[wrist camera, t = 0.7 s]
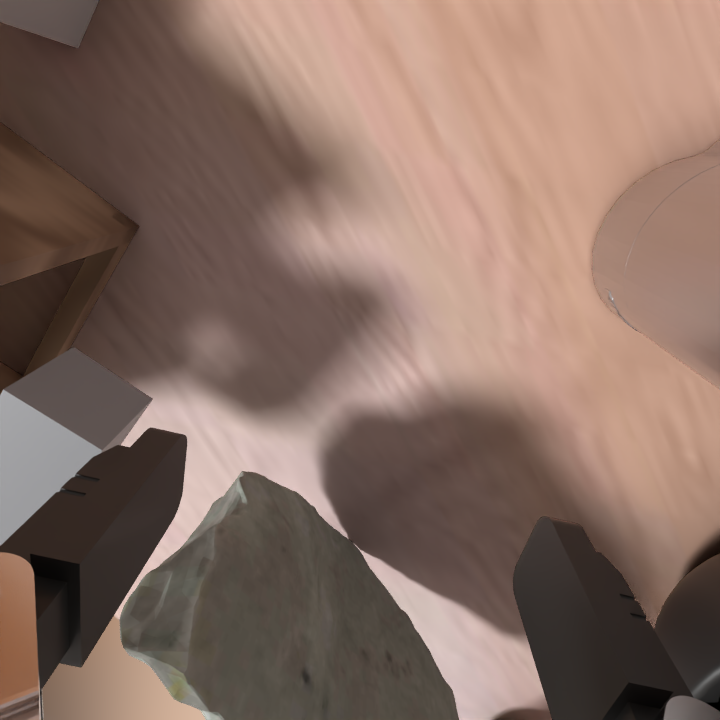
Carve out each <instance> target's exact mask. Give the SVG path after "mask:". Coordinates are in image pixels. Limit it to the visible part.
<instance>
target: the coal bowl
mask: <svg viewBox="0 0 720 720" xmlns="http://www.w3.org/2000/svg"><path fill="white" fill-rule="evenodd" d="M654 631H655V632H656V634H657V636H658V638H659V639H660V641H661V643H662V644H663V646H664V648H665V649H666V651H667V653H668V654H669V656H670V658H671V660H672V661H673V663H674V665H675V666H676V668H677V670H678V671H679V673H680V675H681V677H682V678H683V680H684V682H685V683H686V685H687V687H688V688H689V690H690V692H691V694H692V695H693V697H694V698H696V699H698V700H701V701H703V702H705V703H707V704H708V705H710V706H712V707H713V708H715V709H717V710H718V711H720V554H717V555H715V556H713V557H712V558H710V559H708V560H706V561H705V562H703V563H702V564H700V565H699V566H697V567H696V568H695V569H693V570H692V571H691V572H689V573H688V574H687V575H686V576H685V577H684V578H683V579H682V580H681V581H680V582H679V583H678V584H677V586H676V587H675V588H674V589H673V591H672V592H671V593H670V595H669V596H668V598H667V599H666V601H665V603H664V605H663V607H662V609H661V611H660V614H659V616H658V619H657V621H656V624H655V628H654Z"/></svg>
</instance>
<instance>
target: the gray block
mask: <svg viewBox="0 0 720 720" xmlns="http://www.w3.org/2000/svg"><path fill="white" fill-rule="evenodd" d="M98 2H99V0H0V22H1V23H4V24H7V25H10V26H13V27H16V28H19V29H22V30H25V31H28V32H31V33H34V34H37V35H40V36H43V37H46V38H49V39H52V40H55V41H58V42H61V43H63V44H66V45H69V46H72V47H75V48H79V46H80V43H81V41H82V39H83V36H84V34H85V32H86V30H87V27H88V25H89V23H90V20H91V18H92V16H93V13H94V11H95V9H96V6H97V4H98Z"/></svg>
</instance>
